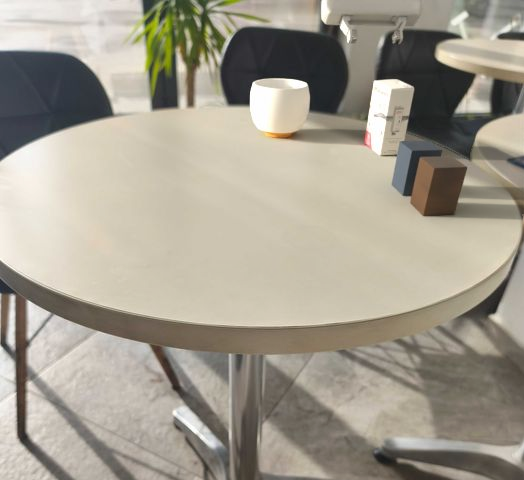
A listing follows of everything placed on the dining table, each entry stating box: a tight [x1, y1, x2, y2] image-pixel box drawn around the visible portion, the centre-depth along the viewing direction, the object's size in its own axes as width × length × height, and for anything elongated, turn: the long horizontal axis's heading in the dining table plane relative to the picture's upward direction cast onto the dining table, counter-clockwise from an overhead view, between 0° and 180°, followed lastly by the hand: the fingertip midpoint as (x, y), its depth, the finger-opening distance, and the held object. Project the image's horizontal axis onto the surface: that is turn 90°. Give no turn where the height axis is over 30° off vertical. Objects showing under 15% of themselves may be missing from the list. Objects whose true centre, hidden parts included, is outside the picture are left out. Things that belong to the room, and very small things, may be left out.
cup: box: [249, 77, 311, 139], centre depth 102 cm, size 12×12×10 cm
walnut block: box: [409, 155, 468, 217], centre depth 73 cm, size 5×5×7 cm
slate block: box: [391, 140, 443, 197], centre depth 79 cm, size 5×5×7 cm
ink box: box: [363, 78, 415, 156], centre depth 95 cm, size 9×5×12 cm, turn 12°
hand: (375, 41), depth 98 cm, fingers open, 8 cm apart
